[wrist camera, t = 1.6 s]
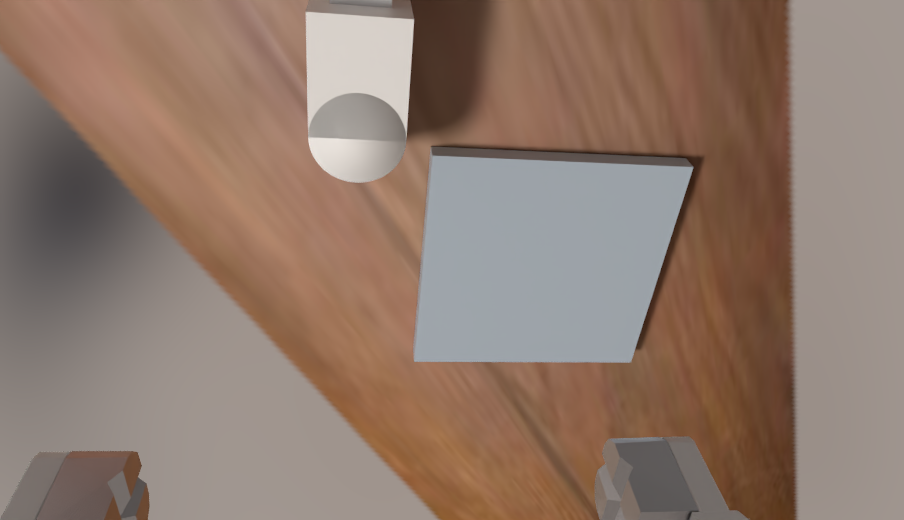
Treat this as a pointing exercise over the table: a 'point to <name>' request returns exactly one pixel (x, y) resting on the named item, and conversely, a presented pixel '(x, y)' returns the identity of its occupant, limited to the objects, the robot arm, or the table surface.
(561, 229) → the grey pad
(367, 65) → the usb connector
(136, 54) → the table surface
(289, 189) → the table surface
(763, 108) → the table surface
